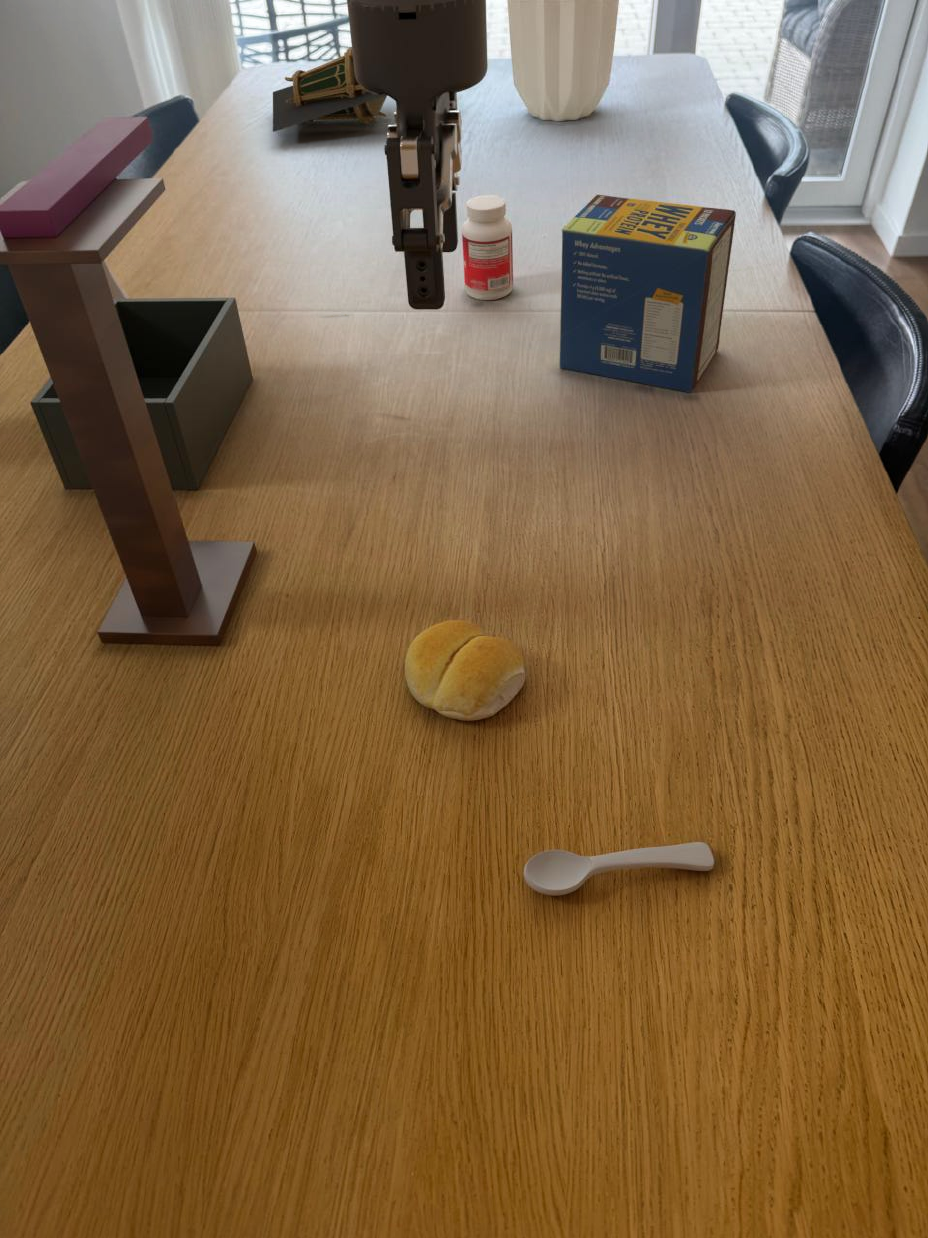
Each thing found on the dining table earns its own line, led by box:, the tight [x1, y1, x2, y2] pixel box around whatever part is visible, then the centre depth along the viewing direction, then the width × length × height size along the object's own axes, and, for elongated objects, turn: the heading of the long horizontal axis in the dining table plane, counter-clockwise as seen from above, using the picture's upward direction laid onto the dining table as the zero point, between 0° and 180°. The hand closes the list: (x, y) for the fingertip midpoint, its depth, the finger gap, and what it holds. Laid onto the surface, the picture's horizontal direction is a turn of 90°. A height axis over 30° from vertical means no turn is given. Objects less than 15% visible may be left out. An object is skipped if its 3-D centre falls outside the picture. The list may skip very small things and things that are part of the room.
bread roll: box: [404, 619, 527, 722], centre depth 72 cm, size 8×9×4 cm
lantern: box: [272, 46, 388, 132], centre depth 175 cm, size 14×23×30 cm
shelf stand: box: [0, 177, 258, 647], centre depth 71 cm, size 10×12×32 cm
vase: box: [507, 0, 620, 122], centre depth 167 cm, size 20×20×28 cm
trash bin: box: [29, 297, 254, 491], centre depth 99 cm, size 14×22×10 cm, turn 175°
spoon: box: [522, 841, 715, 897], centre depth 60 cm, size 3×12×2 cm, turn 97°
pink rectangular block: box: [0, 116, 155, 238], centre depth 64 cm, size 3×18×2 cm, turn 175°
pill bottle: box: [461, 194, 514, 301], centre depth 119 cm, size 6×6×11 cm
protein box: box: [558, 194, 737, 393], centre depth 103 cm, size 10×15×16 cm
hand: (434, 277), depth 63 cm, fingers open, 8 cm apart
